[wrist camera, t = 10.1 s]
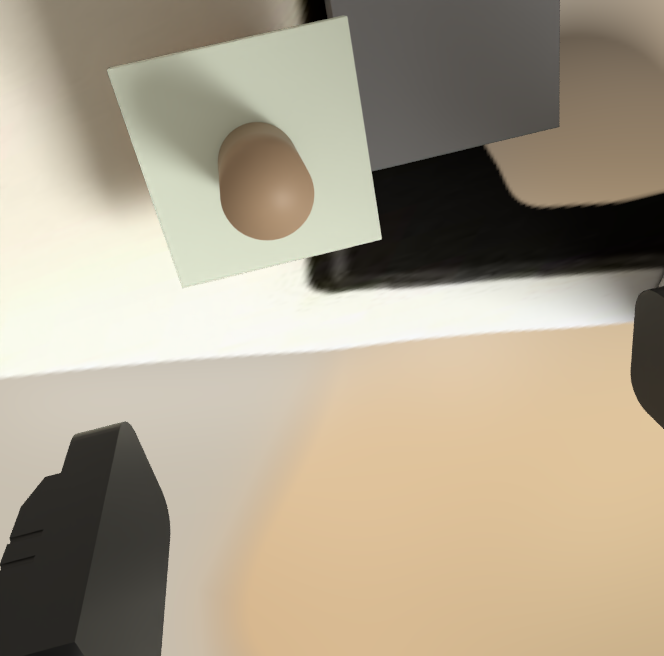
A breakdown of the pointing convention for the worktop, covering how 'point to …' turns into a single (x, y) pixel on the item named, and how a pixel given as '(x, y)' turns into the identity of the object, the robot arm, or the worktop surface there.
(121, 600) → the robot arm
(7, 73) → the worktop surface
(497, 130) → the mat
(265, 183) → the lid
